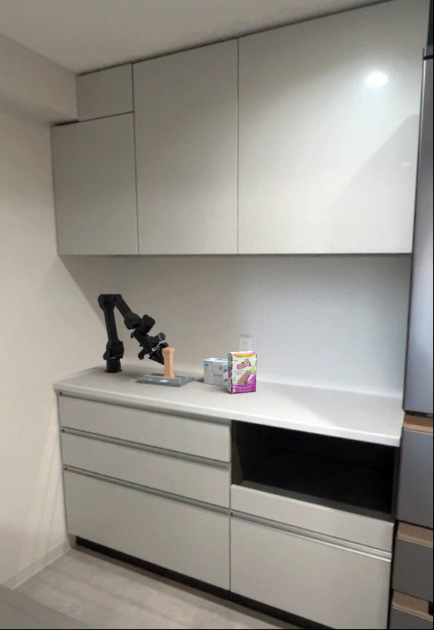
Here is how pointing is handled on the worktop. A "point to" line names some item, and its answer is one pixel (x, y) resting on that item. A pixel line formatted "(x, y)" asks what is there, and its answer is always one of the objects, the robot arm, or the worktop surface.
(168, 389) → the worktop surface
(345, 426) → the worktop surface
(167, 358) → the orange square pillar
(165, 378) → the grey base plate
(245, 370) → the candy bar box
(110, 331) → the robot arm
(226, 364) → the light bulb box
